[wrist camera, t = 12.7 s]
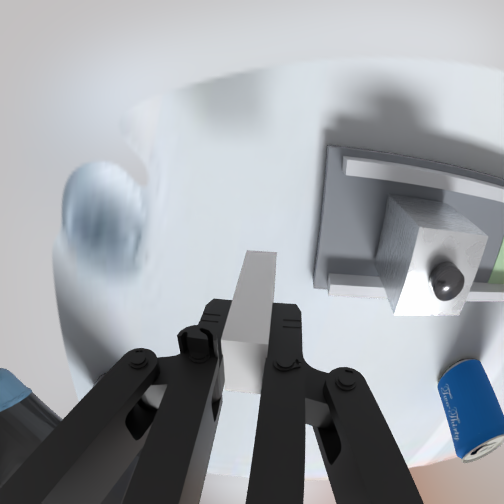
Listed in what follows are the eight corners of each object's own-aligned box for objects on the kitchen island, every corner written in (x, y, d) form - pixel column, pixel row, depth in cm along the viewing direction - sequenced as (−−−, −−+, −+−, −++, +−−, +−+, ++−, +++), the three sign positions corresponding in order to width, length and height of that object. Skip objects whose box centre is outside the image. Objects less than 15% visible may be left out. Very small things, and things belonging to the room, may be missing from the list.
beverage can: (449, 356, 26) (480, 441, 16) (487, 352, 26) (520, 427, 15) (428, 390, 29) (447, 469, 19) (465, 386, 29) (488, 457, 18)
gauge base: (313, 280, 24) (316, 351, 17) (327, 145, 19) (346, 165, 12) (536, 290, 21) (571, 334, 14) (566, 201, 16) (613, 233, 9)
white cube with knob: (374, 265, 21) (398, 325, 15) (388, 194, 19) (426, 235, 12) (429, 269, 20) (464, 325, 14) (446, 202, 18) (497, 244, 12)
